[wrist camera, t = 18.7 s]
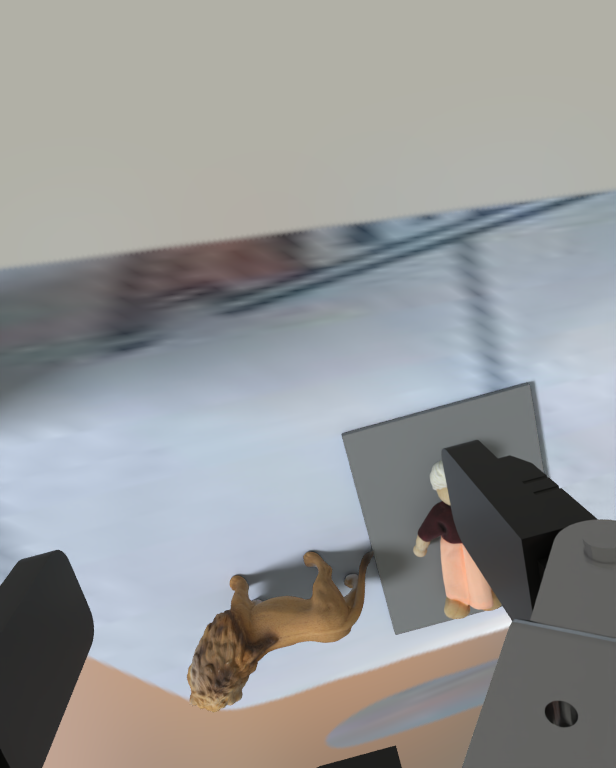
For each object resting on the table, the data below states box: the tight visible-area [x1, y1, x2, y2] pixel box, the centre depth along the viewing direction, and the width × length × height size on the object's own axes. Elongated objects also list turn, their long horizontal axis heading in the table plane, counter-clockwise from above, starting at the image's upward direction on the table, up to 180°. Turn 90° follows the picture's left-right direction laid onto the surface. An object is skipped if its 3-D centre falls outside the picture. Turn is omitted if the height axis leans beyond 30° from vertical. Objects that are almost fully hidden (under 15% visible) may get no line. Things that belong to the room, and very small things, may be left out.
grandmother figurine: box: [413, 460, 502, 619], centre depth 41 cm, size 8×4×13 cm
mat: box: [342, 383, 544, 635], centre depth 43 cm, size 14×18×1 cm
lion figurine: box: [187, 551, 374, 712], centre depth 39 cm, size 15×5×9 cm, turn 114°
